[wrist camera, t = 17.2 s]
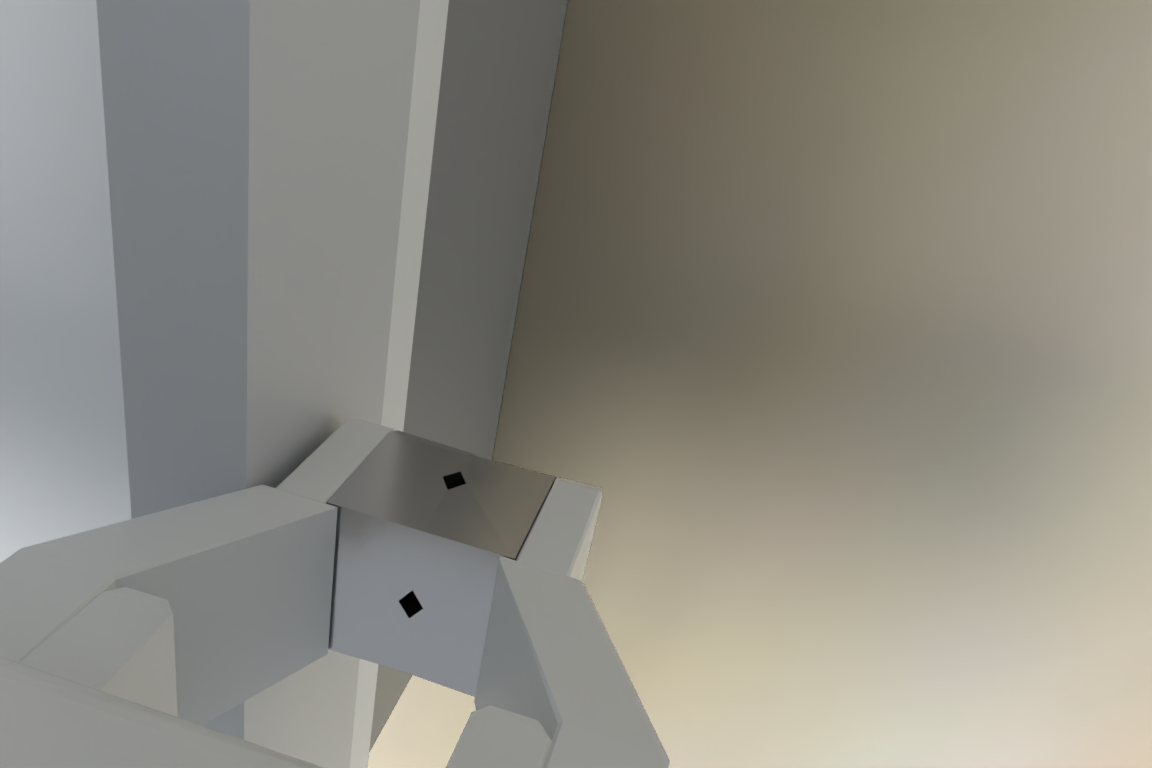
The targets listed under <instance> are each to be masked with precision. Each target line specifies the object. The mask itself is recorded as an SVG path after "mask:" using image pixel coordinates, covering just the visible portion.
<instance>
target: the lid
mask: <svg viewBox="0 0 1152 768" xmlns="http://www.w3.org/2000/svg"><path fill="white" fill-rule="evenodd" d="M448 5H449V0H0V563H1V562H3V561H4V560H5V559H7V558H8V557H10V556H11V555H12V554H14V553H15V552H16V551H18V550H19V549H21V548H24V547H28V546H31V545H35V544H39V543H43V542H47V541H50V540H54V539H58V538H62V537H65V536H69V535H73V534H77V533H81V532H84V531H88V530H92V529H96V528H99V527H103V526H107V525H111V524H115V523H118V522H122V521H126V520H130V519H134V518H137V517H141V516H145V515H149V514H152V513H156V512H160V511H164V510H168V509H171V508H175V507H179V506H183V505H187V504H190V503H194V502H198V501H202V500H205V499H209V498H213V497H217V496H221V495H224V494H228V493H232V492H236V491H240V490H243V489H247V488H251V487H255V486H258V485H266V486H269V487H273V488H276V487H277V486H278V485H279V484H280V483H281V482H282V481H283V480H284V479H285V478H286V477H287V476H288V475H289V474H291V473H292V472H293V471H294V470H295V469H296V468H297V467H298V466H299V465H300V464H301V463H302V462H303V461H304V460H305V459H306V458H307V457H308V456H309V455H310V454H311V453H312V452H314V451H315V450H316V449H317V448H318V447H319V446H320V445H321V444H322V443H323V442H324V441H325V440H326V439H327V438H328V437H329V436H330V435H331V434H332V433H333V432H334V431H336V430H337V429H338V428H339V427H340V426H341V425H342V424H343V423H344V422H345V421H346V420H348V419H355V418H357V419H361V420H364V421H368V422H372V423H375V424H379V425H382V426H386V427H390V428H393V429H394V430H395V431H397V430H399V431H402V432H403V429H404V419H405V410H406V401H407V391H408V382H409V372H410V363H411V353H412V344H413V335H414V325H415V316H416V306H417V297H418V288H419V278H420V269H421V259H422V250H423V240H424V231H425V222H426V212H427V203H428V193H429V184H430V175H431V165H432V156H433V146H434V137H435V127H436V118H437V109H438V99H439V90H440V80H441V71H442V61H443V52H444V43H445V33H446V24H447V14H448ZM377 674H378V664H376V663H373V662H370V661H366V660H363V659H359V658H356V657H352V656H349V655H346V654H342V653H339V652H335V651H332V650H329V649H328V654H327V655H325V656H324V657H322V658H320V659H318V660H317V661H315V662H313V663H311V664H309V665H308V666H306V667H304V668H302V669H301V670H299V671H297V672H295V673H294V674H292V675H290V676H288V677H286V678H285V679H283V680H281V681H279V682H278V683H276V684H274V685H272V686H271V687H269V688H267V689H265V690H264V691H262V692H260V693H258V694H256V695H255V696H253V697H251V698H249V699H248V700H246V701H244V702H242V703H241V704H239V705H237V706H235V707H234V708H232V709H230V710H228V711H226V712H225V713H223V714H221V715H219V716H218V717H216V718H214V719H212V720H211V721H209V722H207V723H205V724H203V725H202V726H205V727H208V728H211V729H214V730H217V731H219V732H222V733H225V734H228V735H231V736H234V737H237V738H240V739H243V740H246V741H249V742H252V743H255V744H257V745H260V746H263V747H266V748H269V749H272V750H275V751H278V752H281V753H284V754H287V755H290V756H292V757H295V758H298V759H301V760H304V761H307V762H310V763H313V764H316V765H319V766H322V767H325V768H368V758H369V749H370V740H371V730H372V721H373V711H374V702H375V692H376V683H377Z"/></svg>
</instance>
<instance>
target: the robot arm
mask: <svg viewBox="0 0 1152 768" xmlns="http://www.w3.org/2000/svg"><path fill="white" fill-rule="evenodd" d="M601 500H602V489H601V487H597V486H593V485H589V484H585V483H581V482H577V481H572V480H568V479H564V478H560V477H559V478H556V477H555V476H551V475H547V474H543V473H540V472H536V471H532V470H528V469H524V468H520V467H517V466H513V465H509V464H505V463H501V462H498V461H494V460H490V459H486V458H482V457H480V456H479V455H476V454H473V453H470V452H467V451H463V450H460V449H457V448H454V447H450V446H447V445H444V444H441V443H438V442H434V441H431V440H428V439H425V438H421V437H418V436H415V435H412V434H408V433H405V432H402V431H399V430H397V431H395V430H394V429H393V428H390V427H386V426H382V425H379V424H375V423H372V422H368V421H364V420H361V419H357V418H355V419H348V420H346V421H345V422H344V423H343V424H342V425H341V426H340V427H339V428H338V429H337V430H336V431H334V432H333V433H332V434H331V435H330V436H329V437H328V438H327V439H326V440H325V441H324V442H323V443H322V444H321V445H320V446H319V447H318V448H317V449H316V450H315V451H314V452H312V453H311V454H310V455H309V456H308V457H307V458H306V459H305V460H304V461H303V462H302V463H301V464H300V465H299V466H298V467H297V468H296V469H295V470H294V471H293V472H292V473H291V474H289V475H288V476H287V477H286V478H285V479H284V480H283V481H282V482H281V483H280V484H279V485H278V486H277V487H276V488H273V487H269V486H266V485H258V486H255V487H251V488H247V489H243V490H240V491H236V492H232V493H228V494H224V495H221V496H217V497H213V498H209V499H205V500H202V501H198V502H194V503H190V504H187V505H183V506H179V507H175V508H171V509H168V510H164V511H160V512H156V513H152V514H149V515H145V516H141V517H137V518H134V519H130V520H126V521H122V522H118V523H115V524H111V525H107V526H103V527H99V528H96V529H92V530H88V531H84V532H81V533H77V534H73V535H69V536H65V537H62V538H58V539H54V540H50V541H47V542H43V543H39V544H35V545H31V546H28V547H24V548H21V549H19V550H18V551H16V552H15V553H14V554H12V555H11V556H10V557H8V558H7V559H5V560H4V561H3V562H1V563H0V768H325V767H322V766H319V765H316V764H313V763H310V762H307V761H304V760H301V759H298V758H295V757H292V756H290V755H287V754H284V753H281V752H278V751H275V750H272V749H269V748H266V747H263V746H260V745H257V744H255V743H252V742H249V741H246V740H243V739H240V738H237V737H234V736H231V735H228V734H225V733H222V732H219V731H217V730H214V729H211V728H208V727H205V726H202V725H203V724H205V723H207V722H209V721H211V720H212V719H214V718H216V717H218V716H219V715H221V714H223V713H225V712H226V711H228V710H230V709H232V708H234V707H235V706H237V705H239V704H241V703H242V702H244V701H246V700H248V699H249V698H251V697H253V696H255V695H256V694H258V693H260V692H262V691H264V690H265V689H267V688H269V687H271V686H272V685H274V684H276V683H278V682H279V681H281V680H283V679H285V678H286V677H288V676H290V675H292V674H294V673H295V672H297V671H299V670H301V669H302V668H304V667H306V666H308V665H309V664H311V663H313V662H315V661H317V660H318V659H320V658H322V657H324V656H325V655H327V654H328V649H329V650H332V651H335V652H339V653H342V654H346V655H349V656H352V657H356V658H359V659H363V660H366V661H370V662H373V663H376V664H380V665H383V666H387V667H390V668H393V669H397V670H400V671H403V672H406V673H409V674H412V675H415V676H417V677H420V678H423V679H426V680H429V681H431V682H434V683H437V684H440V685H443V686H446V687H448V688H451V689H454V690H457V691H460V692H462V693H465V694H468V695H471V696H474V697H475V706H476V711H474V712H472V713H471V715H470V717H469V719H468V721H467V724H466V726H465V728H464V730H463V732H462V734H461V736H460V739H459V741H458V743H457V745H456V747H455V749H454V751H453V754H452V756H451V758H450V760H449V762H448V764H447V766H446V768H668V766H669V758H668V756H667V754H666V752H665V750H664V748H663V746H662V744H661V742H660V740H659V738H658V736H657V733H656V731H655V729H654V727H653V725H652V723H651V721H650V719H649V717H648V715H647V713H646V711H645V709H644V707H643V705H642V702H641V700H640V698H639V696H638V694H637V692H636V690H635V688H634V686H633V684H632V682H631V680H630V678H629V676H628V674H627V671H626V669H625V667H624V665H623V663H622V661H621V659H620V657H619V655H618V653H617V651H616V649H615V647H614V645H613V643H612V640H611V638H610V636H609V634H608V632H607V630H606V628H605V626H604V624H603V622H602V620H601V618H600V616H599V614H598V612H597V609H596V607H595V605H594V603H593V601H592V599H591V597H590V595H589V593H588V591H587V589H586V587H585V585H584V583H583V582H582V580H583V576H584V572H585V568H586V564H587V560H588V556H589V551H590V547H591V543H592V539H593V535H594V531H595V527H596V522H597V518H598V514H599V510H600V506H601Z"/></svg>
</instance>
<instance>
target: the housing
mask: <svg viewBox="0 0 1152 768" xmlns="http://www.w3.org/2000/svg"><path fill="white" fill-rule="evenodd" d="M567 2H568V0H449V5H448V14H447V24H446V33H445V43H444V52H443V61H442V71H441V80H440V90H439V99H438V109H437V118H436V127H435V137H434V146H433V156H432V165H431V175H430V184H429V193H428V203H427V212H426V222H425V231H424V240H423V250H422V259H421V269H420V278H419V288H418V297H417V306H416V316H415V325H414V335H413V344H412V353H411V363H410V372H409V382H408V391H407V401H406V410H405V419H404V429H403V432H405V433H408V434H412V435H415V436H418V437H421V438H425V439H428V440H431V441H434V442H438V443H441V444H444V445H447V446H450V447H454V448H457V449H460V450H463V451H467V452H470V453H473V454H476V455H479V456H480V457H482V458H486V459H490V460H492V457H493V451H494V445H495V439H496V433H497V427H498V421H499V414H500V408H501V402H502V396H503V390H504V384H505V378H506V372H507V366H508V360H509V354H510V348H511V342H512V336H513V330H514V323H515V317H516V311H517V305H518V299H519V293H520V287H521V281H522V275H523V269H524V263H525V257H526V251H527V245H528V239H529V233H530V226H531V220H532V214H533V208H534V202H535V196H536V190H537V184H538V178H539V172H540V166H541V160H542V154H543V148H544V142H545V135H546V129H547V123H548V117H549V111H550V105H551V99H552V93H553V87H554V81H555V75H556V69H557V63H558V57H559V51H560V44H561V38H562V32H563V26H564V20H565V14H566V8H567ZM411 677H412V674H409V673H406V672H403V671H400V670H397V669H393V668H390V667H387V666H383V665H380V664H378V674H377V683H376V692H375V702H374V711H373V721H372V730H371V740H370V749H369V752H370V750H371V748H372V747H373V745H374V743H375V741H376V740H377V738H378V736H379V734H380V732H381V731H382V729H383V727H384V725H385V723H386V722H387V720H388V718H389V716H390V714H391V713H392V711H393V709H394V707H395V705H396V704H397V702H398V700H399V698H400V696H401V695H402V693H403V691H404V689H405V687H406V686H407V684H408V682H409V680H410V678H411Z"/></svg>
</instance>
